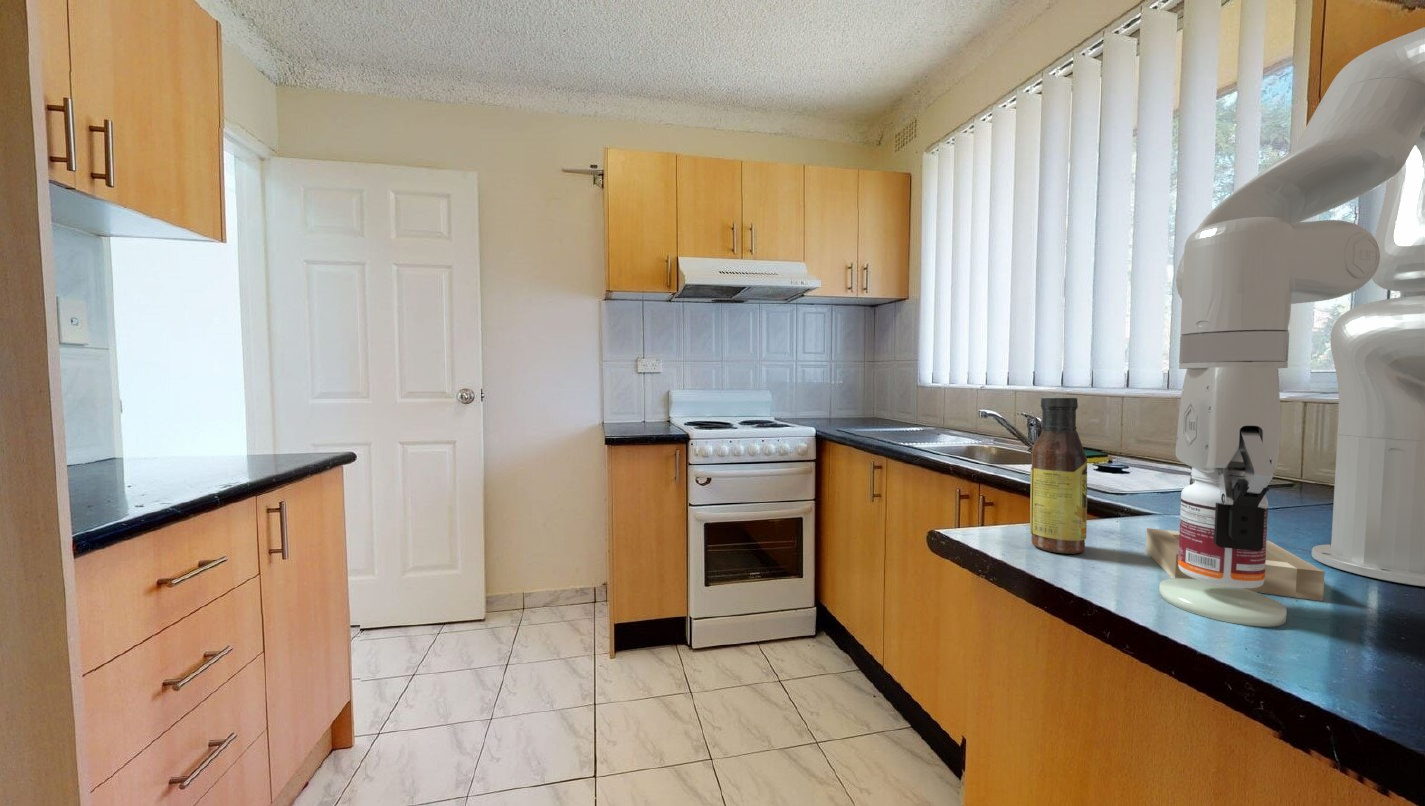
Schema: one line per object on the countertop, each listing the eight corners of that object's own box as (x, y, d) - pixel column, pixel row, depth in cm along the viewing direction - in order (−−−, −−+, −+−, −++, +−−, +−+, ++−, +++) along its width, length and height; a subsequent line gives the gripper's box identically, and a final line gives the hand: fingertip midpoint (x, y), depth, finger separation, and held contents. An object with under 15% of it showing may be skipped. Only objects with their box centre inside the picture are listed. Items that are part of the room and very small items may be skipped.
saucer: (1259, 597, 55) (1260, 587, 54) (1307, 634, 46) (1308, 623, 46) (1148, 582, 59) (1148, 573, 59) (1175, 614, 51) (1175, 603, 50)
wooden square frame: (1267, 565, 64) (1268, 540, 64) (1323, 601, 54) (1324, 571, 54) (1145, 551, 69) (1146, 528, 69) (1174, 581, 59) (1176, 554, 59)
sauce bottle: (1095, 557, 67) (1101, 398, 66) (1040, 554, 68) (1045, 397, 67) (1071, 542, 73) (1076, 396, 72) (1021, 539, 74) (1025, 395, 73)
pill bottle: (1251, 574, 54) (1258, 465, 53) (1275, 595, 48) (1283, 474, 48) (1170, 562, 57) (1176, 459, 56) (1184, 581, 51) (1191, 467, 51)
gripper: (1155, 357, 61) (1149, 514, 62) (1215, 349, 45) (1205, 558, 46) (1243, 356, 58) (1235, 522, 58) (1340, 347, 42) (1327, 573, 43)
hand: (1222, 536), depth 52 cm, fingers closed on pill bottle, 6 cm apart
